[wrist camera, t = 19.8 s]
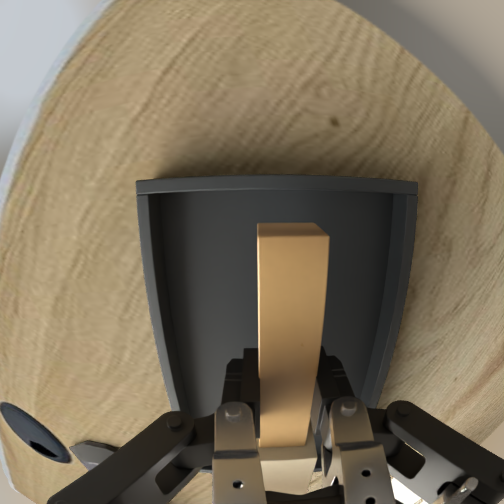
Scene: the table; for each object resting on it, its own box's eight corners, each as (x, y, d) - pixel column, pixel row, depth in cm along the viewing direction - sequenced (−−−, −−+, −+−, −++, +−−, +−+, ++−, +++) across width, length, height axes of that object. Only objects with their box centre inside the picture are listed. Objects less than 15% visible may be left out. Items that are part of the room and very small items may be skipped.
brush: (243, 222, 11) (238, 242, 8) (327, 222, 11) (354, 241, 8) (251, 460, 15) (249, 500, 12) (300, 459, 15) (305, 497, 12)
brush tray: (151, 179, 13) (134, 180, 11) (399, 180, 13) (418, 182, 11) (194, 452, 18) (190, 471, 16) (346, 448, 18) (351, 467, 16)
